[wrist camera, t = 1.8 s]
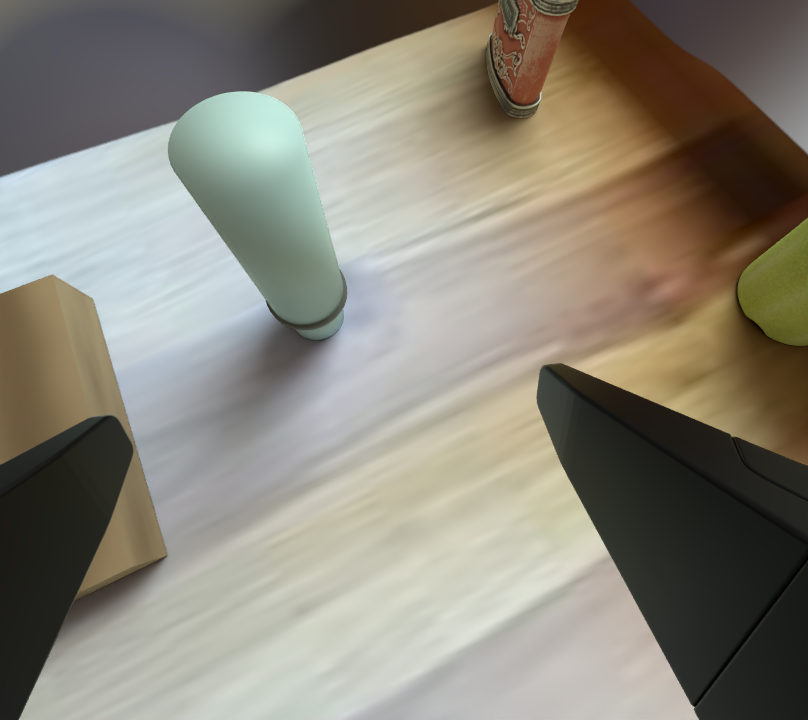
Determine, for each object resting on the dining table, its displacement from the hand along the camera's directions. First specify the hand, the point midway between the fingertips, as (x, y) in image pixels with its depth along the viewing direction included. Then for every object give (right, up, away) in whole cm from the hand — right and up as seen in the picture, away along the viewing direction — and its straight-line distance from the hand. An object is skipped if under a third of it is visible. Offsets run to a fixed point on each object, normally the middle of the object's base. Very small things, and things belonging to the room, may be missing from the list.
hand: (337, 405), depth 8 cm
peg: (-4, +4, +16) cm, 17 cm away
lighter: (+10, +23, +22) cm, 33 cm away
